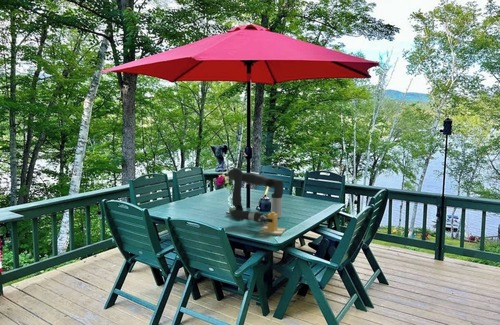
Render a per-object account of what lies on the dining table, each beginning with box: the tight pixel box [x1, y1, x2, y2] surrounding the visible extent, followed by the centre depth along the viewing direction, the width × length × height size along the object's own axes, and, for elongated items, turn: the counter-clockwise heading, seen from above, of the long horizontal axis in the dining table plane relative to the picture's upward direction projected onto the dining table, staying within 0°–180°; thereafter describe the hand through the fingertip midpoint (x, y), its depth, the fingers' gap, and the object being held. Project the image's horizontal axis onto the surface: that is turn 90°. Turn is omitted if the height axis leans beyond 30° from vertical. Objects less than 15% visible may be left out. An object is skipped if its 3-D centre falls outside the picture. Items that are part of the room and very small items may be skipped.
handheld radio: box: [225, 207, 245, 221], centre depth 289 cm, size 7×3×25 cm
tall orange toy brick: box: [266, 211, 279, 231], centre depth 247 cm, size 6×6×13 cm
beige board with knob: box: [258, 225, 287, 237], centre depth 248 cm, size 14×17×6 cm
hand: (274, 219), depth 246 cm, fingers open, 8 cm apart
